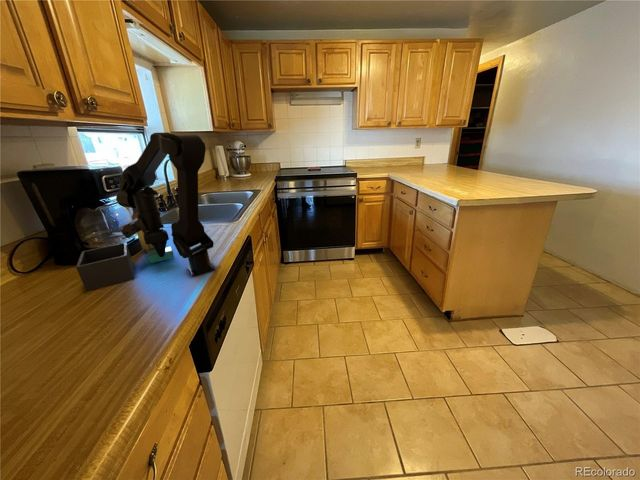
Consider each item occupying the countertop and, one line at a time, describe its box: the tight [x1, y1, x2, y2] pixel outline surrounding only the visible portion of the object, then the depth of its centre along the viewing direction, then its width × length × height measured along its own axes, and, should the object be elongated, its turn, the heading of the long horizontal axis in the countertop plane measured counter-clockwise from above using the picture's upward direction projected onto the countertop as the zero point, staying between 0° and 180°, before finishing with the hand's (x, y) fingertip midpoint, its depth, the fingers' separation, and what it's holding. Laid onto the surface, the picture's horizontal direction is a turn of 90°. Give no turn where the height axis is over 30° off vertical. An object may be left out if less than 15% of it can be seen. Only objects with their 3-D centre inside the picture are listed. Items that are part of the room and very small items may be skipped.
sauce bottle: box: [131, 208, 155, 254], centre depth 95 cm, size 7×6×20 cm
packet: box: [147, 245, 175, 264], centre depth 89 cm, size 7×5×2 cm
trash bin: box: [75, 242, 135, 292], centre depth 79 cm, size 13×11×8 cm
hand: (161, 254), depth 89 cm, fingers closed on packet, 5 cm apart
